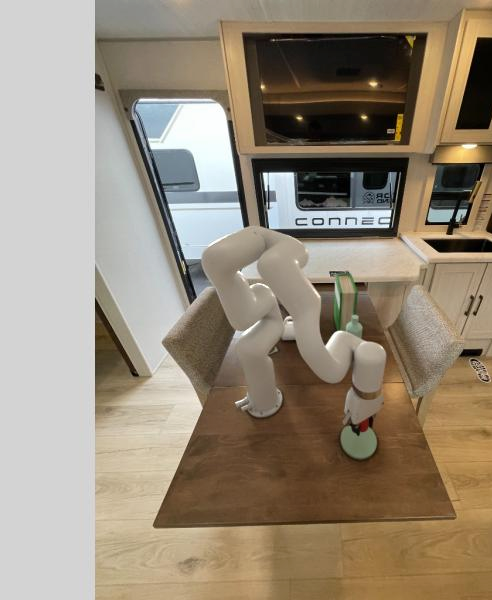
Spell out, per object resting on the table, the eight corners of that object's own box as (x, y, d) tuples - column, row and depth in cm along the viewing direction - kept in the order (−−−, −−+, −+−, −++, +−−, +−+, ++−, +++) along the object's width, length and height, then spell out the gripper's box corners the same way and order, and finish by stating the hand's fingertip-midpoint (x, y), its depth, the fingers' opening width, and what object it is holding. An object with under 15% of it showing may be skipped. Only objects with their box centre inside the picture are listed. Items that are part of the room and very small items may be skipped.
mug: (305, 343, 119) (304, 321, 113) (282, 344, 119) (280, 322, 112) (305, 331, 126) (304, 310, 120) (283, 332, 125) (281, 311, 119)
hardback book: (353, 336, 123) (357, 292, 110) (338, 337, 122) (340, 292, 110) (348, 314, 138) (350, 273, 125) (334, 315, 137) (335, 273, 124)
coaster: (354, 467, 75) (355, 465, 74) (333, 434, 83) (333, 432, 82) (384, 447, 79) (384, 445, 79) (361, 418, 88) (361, 416, 87)
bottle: (351, 359, 110) (354, 323, 100) (341, 350, 115) (343, 315, 105) (362, 353, 113) (367, 317, 103) (352, 345, 118) (355, 310, 108)
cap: (368, 420, 79) (368, 412, 77) (368, 433, 75) (369, 424, 73) (354, 419, 79) (355, 411, 77) (354, 431, 76) (354, 423, 74)
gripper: (381, 363, 74) (375, 405, 83) (331, 389, 67) (330, 431, 76) (401, 382, 68) (392, 424, 78) (348, 411, 61) (345, 454, 71)
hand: (361, 427), depth 77 cm, fingers closed on cap, 3 cm apart
